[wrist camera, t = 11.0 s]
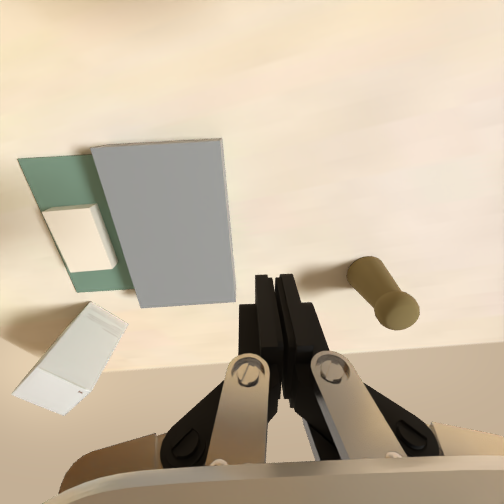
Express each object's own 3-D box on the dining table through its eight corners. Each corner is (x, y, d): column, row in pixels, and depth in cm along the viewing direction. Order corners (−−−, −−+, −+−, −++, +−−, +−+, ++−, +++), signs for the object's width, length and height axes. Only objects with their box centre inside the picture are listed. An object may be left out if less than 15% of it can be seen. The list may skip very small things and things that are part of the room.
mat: (19, 158, 31) (17, 158, 31) (101, 153, 32) (100, 154, 31) (78, 291, 41) (77, 292, 40) (141, 287, 41) (140, 288, 41)
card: (89, 208, 32) (97, 203, 34) (41, 212, 32) (52, 207, 34) (112, 268, 37) (118, 261, 38) (70, 272, 36) (78, 265, 38)
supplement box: (90, 299, 42) (35, 366, 30) (130, 323, 44) (93, 393, 33) (67, 324, 44) (8, 395, 33) (106, 346, 46) (63, 418, 35)
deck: (107, 144, 31) (90, 147, 28) (222, 138, 31) (219, 140, 28) (149, 292, 41) (140, 308, 38) (236, 286, 42) (235, 301, 38)
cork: (352, 293, 43) (385, 344, 34) (341, 266, 41) (373, 312, 31) (388, 278, 42) (432, 326, 32) (378, 250, 40) (424, 292, 30)
